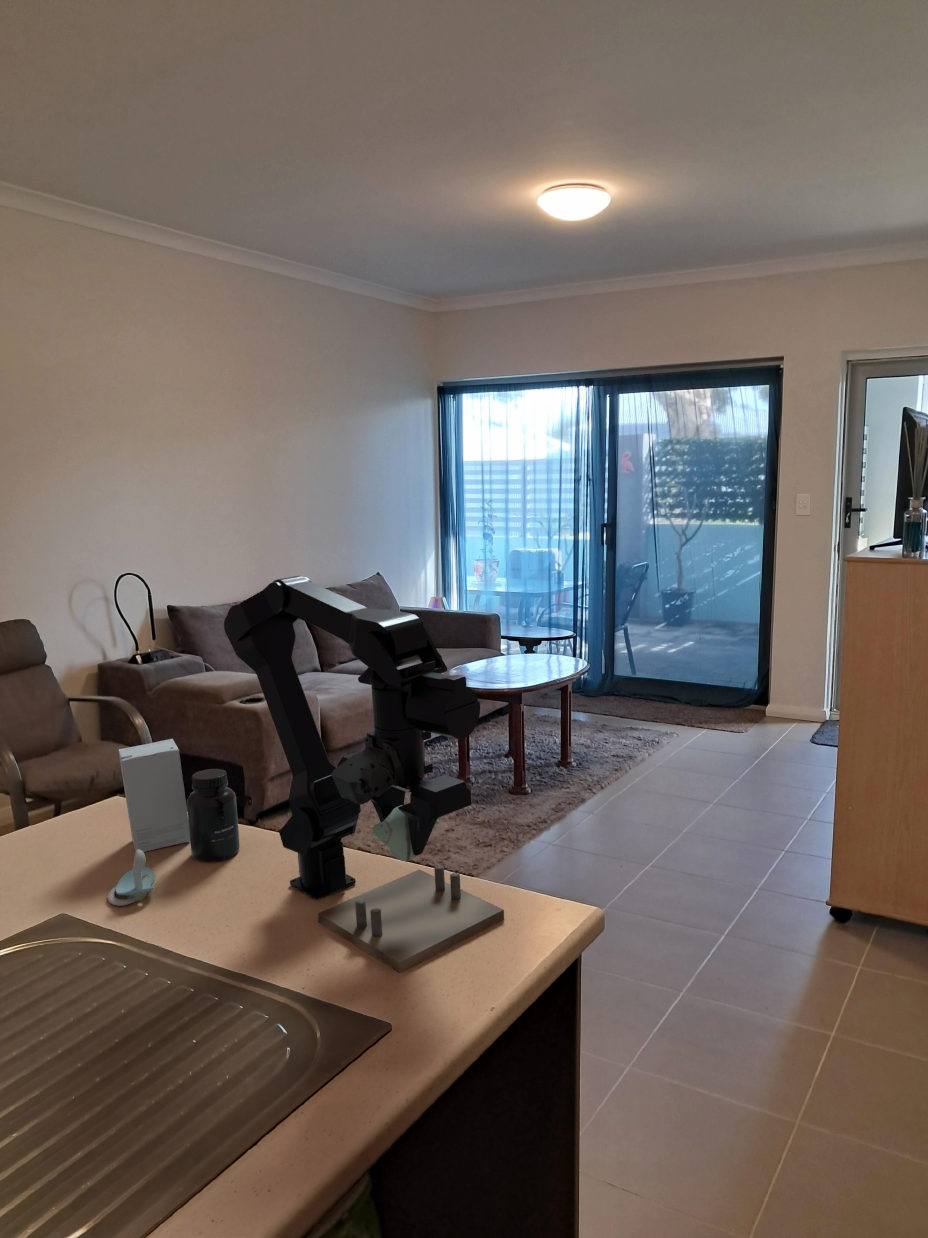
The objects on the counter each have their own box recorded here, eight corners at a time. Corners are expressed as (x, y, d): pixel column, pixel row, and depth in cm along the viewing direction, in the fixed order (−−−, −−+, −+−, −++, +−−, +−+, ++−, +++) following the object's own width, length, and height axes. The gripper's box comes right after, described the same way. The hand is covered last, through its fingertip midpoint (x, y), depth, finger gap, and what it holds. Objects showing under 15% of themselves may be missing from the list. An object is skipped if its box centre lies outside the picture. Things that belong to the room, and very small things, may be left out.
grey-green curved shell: (377, 873, 109) (373, 818, 108) (369, 859, 113) (366, 806, 112) (443, 861, 111) (439, 807, 110) (433, 848, 115) (430, 796, 114)
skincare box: (186, 829, 144) (176, 737, 142) (191, 843, 139) (181, 747, 136) (128, 841, 141) (117, 746, 138) (132, 856, 136) (120, 758, 133)
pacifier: (106, 914, 119) (155, 904, 121) (99, 868, 118) (148, 859, 120) (110, 889, 126) (156, 880, 128) (103, 845, 125) (150, 837, 127)
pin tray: (318, 922, 114) (315, 890, 113) (419, 877, 125) (417, 848, 124) (399, 972, 102) (397, 937, 102) (504, 919, 113) (502, 886, 112)
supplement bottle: (227, 864, 131) (219, 783, 129) (183, 862, 133) (174, 782, 131) (248, 844, 138) (241, 766, 136) (205, 842, 139) (197, 765, 137)
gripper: (295, 723, 110) (305, 847, 113) (393, 758, 97) (401, 898, 100) (371, 703, 118) (378, 820, 121) (472, 733, 104) (477, 864, 107)
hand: (405, 848), depth 112 cm, fingers closed on grey-green curved shell, 4 cm apart
